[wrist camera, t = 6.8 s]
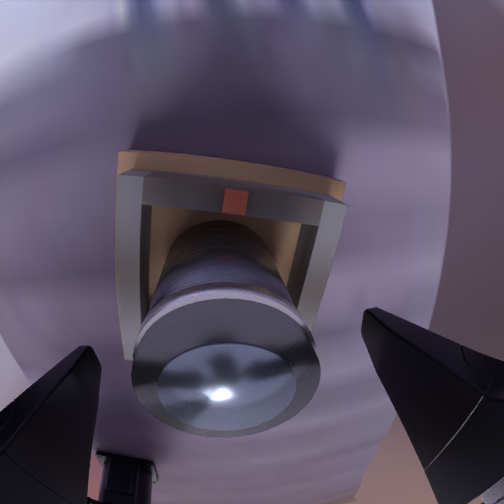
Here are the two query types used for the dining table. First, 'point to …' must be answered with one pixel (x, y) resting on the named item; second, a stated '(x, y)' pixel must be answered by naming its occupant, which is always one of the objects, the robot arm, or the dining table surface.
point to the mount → (220, 208)
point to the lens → (223, 338)
